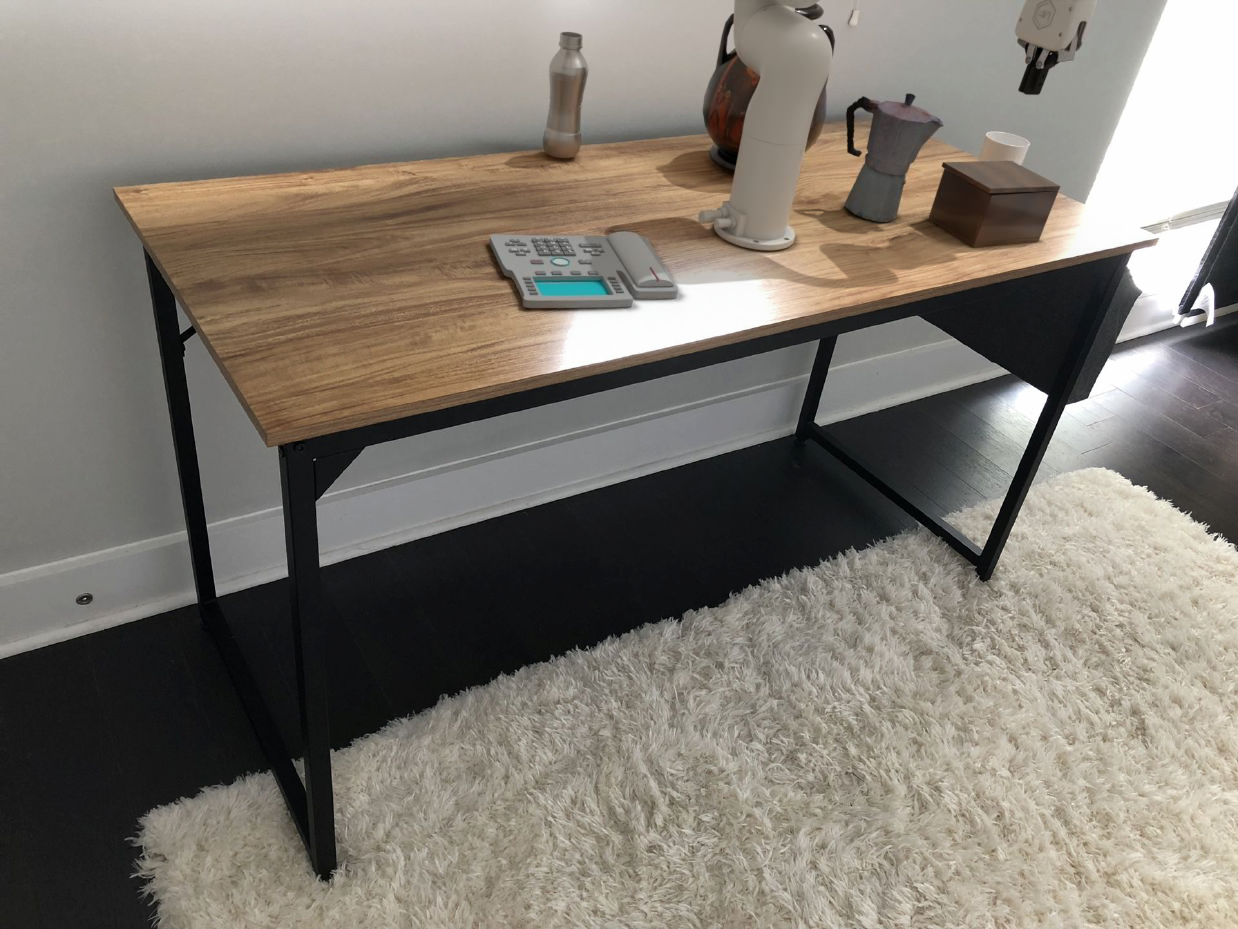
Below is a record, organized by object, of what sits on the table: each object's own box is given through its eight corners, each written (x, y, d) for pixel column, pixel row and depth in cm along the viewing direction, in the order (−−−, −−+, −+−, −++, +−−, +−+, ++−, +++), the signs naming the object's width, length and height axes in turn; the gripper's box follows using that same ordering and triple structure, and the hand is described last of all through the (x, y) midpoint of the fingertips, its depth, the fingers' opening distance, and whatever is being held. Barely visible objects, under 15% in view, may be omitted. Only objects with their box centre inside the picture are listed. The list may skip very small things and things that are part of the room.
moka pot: (914, 231, 161) (953, 108, 149) (822, 213, 163) (853, 90, 151) (912, 210, 169) (948, 92, 157) (824, 194, 170) (853, 76, 159)
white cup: (1019, 199, 181) (1039, 146, 175) (985, 200, 178) (1005, 146, 172) (992, 183, 186) (1010, 131, 180) (959, 184, 184) (977, 131, 178)
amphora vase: (810, 158, 185) (848, -1, 169) (811, 198, 168) (854, 25, 152) (698, 139, 186) (725, -21, 170) (688, 177, 169) (717, 3, 153)
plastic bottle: (537, 149, 171) (546, 28, 160) (574, 149, 173) (585, 30, 162) (546, 162, 167) (556, 38, 155) (584, 162, 169) (596, 40, 157)
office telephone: (646, 226, 143) (692, 289, 128) (644, 243, 144) (688, 307, 129) (489, 225, 136) (518, 291, 121) (488, 242, 138) (516, 310, 122)
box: (973, 247, 159) (991, 195, 153) (927, 218, 167) (944, 168, 162) (1038, 241, 164) (1058, 191, 159) (991, 214, 173) (1009, 165, 167)
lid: (988, 193, 153) (990, 188, 152) (941, 166, 161) (942, 161, 161) (1058, 190, 159) (1060, 186, 159) (1009, 165, 167) (1011, 160, 167)
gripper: (1021, -49, 145) (978, 78, 156) (1097, -27, 135) (1045, 108, 145) (1057, -46, 148) (1012, 79, 159) (1135, -23, 138) (1081, 108, 148)
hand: (1028, 92), depth 152 cm, fingers closed
